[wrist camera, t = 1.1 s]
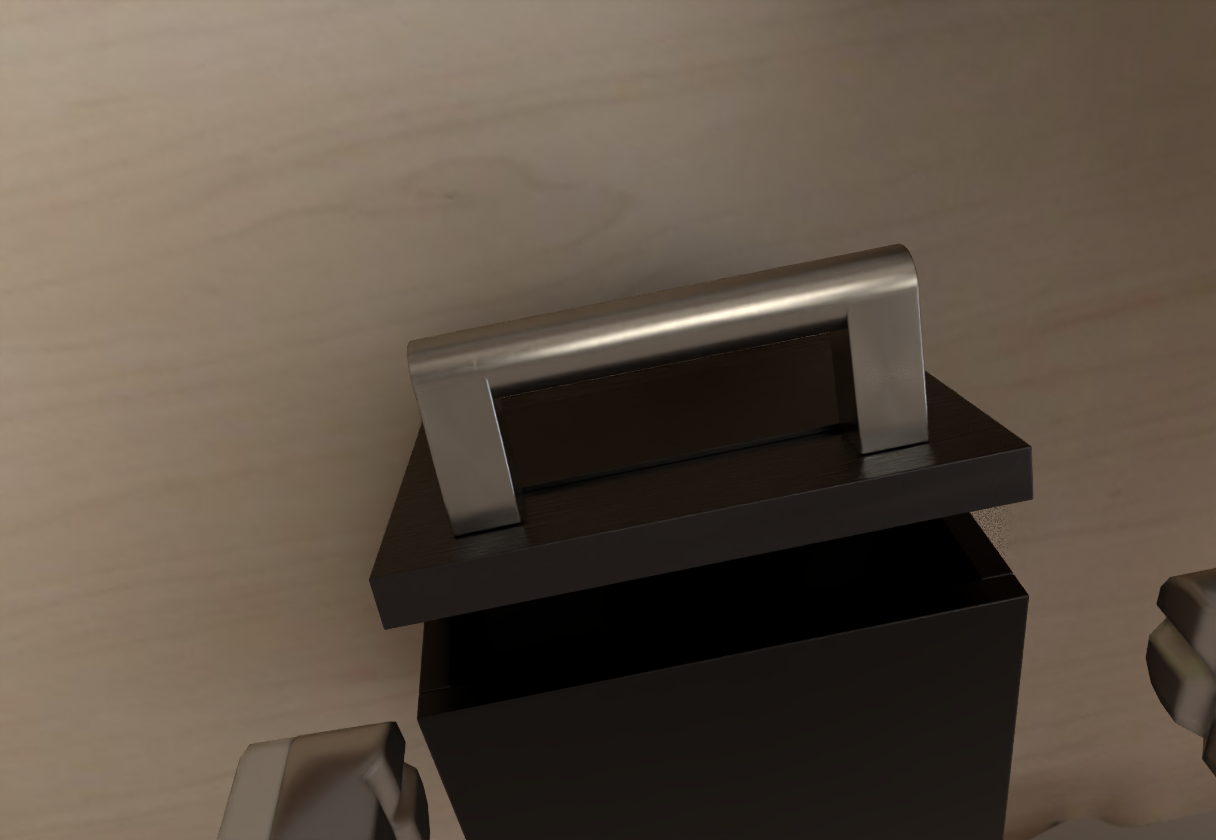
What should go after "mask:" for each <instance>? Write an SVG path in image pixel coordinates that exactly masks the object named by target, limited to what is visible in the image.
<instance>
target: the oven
mask: <svg viewBox="0 0 1216 840" xmlns="http://www.w3.org/2000/svg"><path fill="white" fill-rule="evenodd" d="M1028 601H1029V595H1028V593H1027V592H1026V591H1025V589H1024V588H1023V586H1022V585H1021V584H1020V582H1019V581H1018V580H1017V578H1016V577H1015V575H1013V572H1012V571H1011V569H1010V568H1009V566H1008V565H1007V564H1006V562H1005V561H1004V559H1003V558H1002V557H1001V555H1000V554H999V552H998V551H997V550H996V548H995V547H994V546H993V544H992V543H991V541H990V540H989V539H988V537H987V536H986V534H985V533H984V532H983V530H982V529H981V528H980V526H979V525H978V523H977V522H976V521H975V519H974V518H973V516H972V515H971V514H970V512H967V513H962V514H957V515H952V516H947V517H942V518H937V519H932V520H928V521H923V522H918V523H913V524H908V525H903V526H898V527H893V528H888V529H883V530H878V531H873V532H868V533H863V534H858V535H853V536H848V537H843V538H838V539H833V540H828V541H823V542H818V543H813V544H808V545H804V546H799V547H794V548H789V549H784V550H779V551H774V552H769V553H764V554H759V555H754V556H749V557H744V558H739V559H734V560H729V561H724V562H719V563H714V564H709V565H704V566H699V567H694V568H689V569H684V570H679V571H675V572H670V573H665V574H660V575H655V576H650V577H645V578H640V579H635V580H630V581H625V582H620V583H615V584H610V585H605V586H600V587H595V588H590V589H585V590H580V591H575V592H570V593H565V594H560V595H555V596H551V597H546V598H541V599H536V600H531V601H526V602H521V603H516V604H511V605H506V606H501V607H496V608H491V609H486V610H481V611H476V612H471V613H466V614H461V615H456V616H451V617H446V618H441V619H436V620H431V621H426V622H424V631H423V645H422V658H421V672H420V685H419V698H418V711H417V721H418V723H419V726H420V728H421V731H422V733H423V736H424V738H425V741H426V743H427V746H428V748H429V750H430V753H431V755H432V758H433V760H434V763H435V765H436V768H437V770H438V773H439V775H440V777H441V780H442V782H443V785H444V787H445V790H446V792H447V795H448V797H449V799H450V802H451V804H452V807H453V809H454V812H455V814H456V817H457V819H458V822H459V824H460V826H461V829H462V831H463V834H464V836H465V839H466V840H1003V838H1004V828H1005V819H1006V809H1007V800H1008V790H1009V781H1010V772H1011V762H1012V753H1013V743H1014V734H1015V724H1016V715H1017V705H1018V696H1019V686H1020V677H1021V668H1022V658H1023V649H1024V639H1025V630H1026V620H1027V611H1028Z"/></svg>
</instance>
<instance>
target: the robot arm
mask: <svg viewBox="0 0 1216 840" xmlns="http://www.w3.org/2000/svg"><path fill="white" fill-rule="evenodd" d="M1156 605H1157V606H1158V607H1159V608H1160V609H1161V611H1162V612H1163V613H1164V614H1165V616H1166V617H1167V618H1166V619H1165V620H1164V621H1163V622H1162V623H1161V624H1160V625H1159V626H1158V627H1157V628H1156V629H1155V630H1154V631H1153V632H1152V633H1151V634H1150V635H1149V641H1148V647H1147V653H1146V662H1147V666H1148V671H1149V676H1150V680H1151V684H1152V686H1153V688H1154V690H1155V692H1156V694H1157V696H1158V698H1159V700H1160V702H1161V704H1162V705H1163V706H1164V708H1165V709H1166V711H1167V712H1168V713H1169V715H1170V716H1171V718H1172V719H1173V720H1174V722H1175V723H1177V724H1178V725H1180V726H1182V727H1184V728H1186V729H1188V730H1190V731H1191V732H1193V733H1195V734H1197V735H1199V736H1201V737H1203V754H1202V759H1203V761H1204V762H1205V763H1206V765H1207V766H1208V767H1209V769H1210V770H1211V771H1212V773H1213V774H1214V775H1215V777H1216V568H1214V569H1209V570H1204V571H1199V572H1193V573H1188V574H1183V575H1178V576H1173V577H1170V578H1169V579H1168V580H1167V581H1166V582H1165V583H1164V584H1163V585H1162V586H1161V588H1160V592H1159V596H1158V600H1157V604H1156ZM405 743H406V742H405V740H404V738H403V735H402V733H401V731H400V729H399V727H398V725H397V723H396V722H383V723H376V724H370V725H364V726H357V727H351V728H344V729H338V730H332V731H325V732H319V733H312V734H306V735H300V736H296V737H290V738H284V739H278V740H272V741H266V742H260V743H254V744H250V745H249V746H248V747H247V749H246V750H245V752H244V753H243V755H242V756H241V758H240V759H239V762H238V766H237V769H236V773H235V777H234V780H233V784H232V787H231V791H230V795H229V798H228V802H227V805H226V809H225V812H224V816H223V820H222V823H221V827H220V830H219V834H218V837H217V840H430V827H429V814H428V803H427V799H426V795H425V790H424V786H423V783H422V780H421V778H420V775H419V773H418V770H417V769H416V768H414V767H413V766H411V765H409V764H407V763H405V762H404V754H405Z"/></svg>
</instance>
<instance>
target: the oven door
mask: <svg viewBox="0 0 1216 840" xmlns="http://www.w3.org/2000/svg"><path fill="white" fill-rule="evenodd" d="M826 332H829V333H826ZM821 333H826V334H821ZM816 334H821V335H816ZM811 335H816V336H811ZM806 336H811V337H806ZM801 337H806V338H801ZM796 338H801V339H796ZM791 339H796V340H791ZM786 340H791V341H786ZM781 341H786V342H781ZM776 342H781V343H776ZM771 343H776V344H771ZM766 344H771V345H766ZM761 345H766V346H761ZM756 346H761V347H756ZM751 347H756V348H751ZM746 348H751V349H746ZM741 349H746V350H741ZM736 350H741V351H736ZM731 351H736V352H731ZM726 352H731V353H726ZM721 353H726V354H721ZM716 354H721V355H716ZM711 355H716V356H711ZM706 356H711V357H706ZM701 357H706V358H701ZM696 358H701V359H696ZM407 359H408V367H409V373H410V378H411V382H412V386H413V390H414V393H415V396H416V400H417V404H418V408H419V411H420V415H421V419H422V424H421V427H420V430H419V433H418V436H417V439H416V442H415V445H414V448H413V451H412V454H411V457H410V460H409V462H408V465H407V468H406V471H405V474H404V477H403V480H402V483H401V486H400V489H399V492H398V495H397V498H396V501H395V504H394V507H393V510H392V513H391V516H390V519H389V522H388V525H387V528H386V531H385V534H384V537H383V540H382V543H381V545H380V548H379V551H378V554H377V557H376V560H375V563H374V566H373V569H372V572H371V575H370V578H369V582H370V585H371V588H372V592H373V595H374V598H375V601H376V605H377V608H378V611H379V614H380V618H381V621H382V624H383V627H384V629H385V630H387V629H392V628H397V627H402V626H407V625H412V624H417V623H422V622H426V621H431V620H436V619H441V618H446V617H451V616H456V615H461V614H466V613H471V612H476V611H481V610H486V609H491V608H496V607H501V606H506V605H511V604H516V603H521V602H526V601H531V600H536V599H541V598H546V597H551V596H555V595H560V594H565V593H570V592H575V591H580V590H585V589H590V588H595V587H600V586H605V585H610V584H615V583H620V582H625V581H630V580H635V579H640V578H645V577H650V576H655V575H660V574H665V573H670V572H675V571H679V570H684V569H689V568H694V567H699V566H704V565H709V564H714V563H719V562H724V561H729V560H734V559H739V558H744V557H749V556H754V555H759V554H764V553H769V552H774V551H779V550H784V549H789V548H794V547H799V546H804V545H808V544H813V543H818V542H823V541H828V540H833V539H838V538H843V537H848V536H853V535H858V534H863V533H868V532H873V531H878V530H883V529H888V528H893V527H898V526H903V525H908V524H913V523H918V522H923V521H928V520H932V519H937V518H942V517H947V516H952V515H957V514H962V513H967V512H972V511H977V510H982V509H987V508H992V507H997V506H1002V505H1007V504H1012V503H1017V502H1022V501H1027V500H1032V499H1033V474H1032V447H1031V446H1030V445H1029V444H1027V443H1026V442H1025V441H1023V440H1022V439H1020V438H1019V437H1018V436H1016V435H1015V434H1013V433H1012V432H1011V431H1009V430H1008V429H1006V428H1005V427H1004V426H1002V425H1001V424H999V423H998V422H997V421H995V420H994V419H992V418H991V417H990V416H988V415H987V414H985V413H984V412H983V411H981V410H980V409H978V408H977V407H976V406H974V405H973V404H971V403H970V402H969V401H967V400H966V399H964V398H963V397H962V396H960V395H959V394H957V393H956V392H955V391H953V390H952V389H950V388H949V387H948V386H946V385H945V384H943V383H942V382H941V381H939V380H938V379H936V378H935V377H934V376H932V375H931V374H929V373H928V372H926V371H925V370H924V356H923V343H922V329H921V315H920V302H919V284H918V277H917V272H916V268H915V264H914V261H913V259H912V256H911V254H910V252H909V251H908V249H907V248H906V247H905V246H904V245H902V244H894V245H889V246H884V247H879V248H874V249H869V250H864V251H859V252H854V253H849V254H844V255H839V256H834V257H829V258H824V259H819V260H814V261H809V262H804V263H799V264H794V265H789V266H784V267H778V268H773V269H768V270H763V271H758V272H753V273H748V274H743V275H738V276H733V277H728V278H723V279H718V280H713V281H708V282H703V283H698V284H693V285H688V286H683V287H678V288H673V289H668V290H663V291H658V292H653V293H648V294H643V295H638V296H633V297H628V298H623V299H618V300H613V301H607V302H602V303H597V304H592V305H587V306H582V307H577V308H572V309H567V310H562V311H557V312H552V313H547V314H542V315H537V316H532V317H527V318H522V319H517V320H512V321H507V322H502V323H497V324H492V325H487V326H482V327H477V328H472V329H467V330H462V331H457V332H452V333H447V334H442V335H436V336H431V337H426V338H421V339H416V340H411V341H409V342H408V346H407ZM691 359H696V360H691ZM686 360H691V361H686ZM681 361H686V362H681ZM676 362H681V363H676ZM671 363H676V364H671ZM666 364H671V365H666ZM661 365H666V366H661ZM656 366H661V367H656ZM651 367H656V368H651ZM646 368H651V369H646ZM641 369H646V370H641ZM636 370H641V371H636ZM631 371H636V372H631ZM626 372H631V373H626ZM621 373H626V374H621ZM616 374H621V375H616ZM611 375H616V376H611ZM606 376H611V377H606ZM601 377H606V378H601ZM596 378H601V379H596ZM591 379H596V380H591ZM586 380H591V381H586ZM580 381H586V382H581V383H576V384H571V385H566V386H561V387H556V388H551V389H546V390H541V391H536V392H531V393H526V394H521V395H516V396H511V397H506V398H500V397H505V396H510V395H515V394H520V393H525V392H530V391H535V390H540V389H545V388H550V387H555V386H560V385H565V384H570V383H575V382H580Z"/></svg>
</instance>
